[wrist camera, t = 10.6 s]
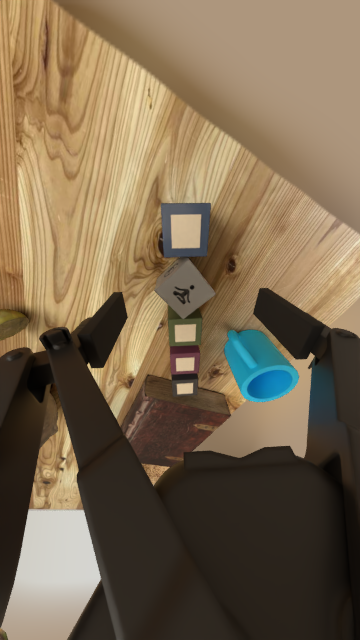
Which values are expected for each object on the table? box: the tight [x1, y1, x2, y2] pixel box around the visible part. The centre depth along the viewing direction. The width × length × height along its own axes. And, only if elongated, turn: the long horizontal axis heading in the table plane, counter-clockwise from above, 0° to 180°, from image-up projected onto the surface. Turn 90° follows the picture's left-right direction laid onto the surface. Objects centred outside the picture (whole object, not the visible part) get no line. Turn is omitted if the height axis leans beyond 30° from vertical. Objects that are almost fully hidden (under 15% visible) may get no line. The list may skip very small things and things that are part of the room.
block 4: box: [172, 373, 198, 397], centre depth 29 cm, size 4×4×5 cm
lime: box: [0, 309, 29, 341], centre depth 21 cm, size 4×5×5 cm
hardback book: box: [121, 375, 231, 467], centre depth 38 cm, size 29×19×5 cm, turn 155°
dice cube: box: [154, 257, 216, 319], centre depth 20 cm, size 5×5×5 cm
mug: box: [224, 330, 299, 402], centre depth 25 cm, size 12×8×8 cm
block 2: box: [168, 305, 203, 346], centre depth 23 cm, size 4×4×5 cm
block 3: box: [170, 345, 200, 375], centre depth 26 cm, size 4×4×5 cm
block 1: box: [161, 203, 211, 257], centre depth 17 cm, size 4×4×5 cm
